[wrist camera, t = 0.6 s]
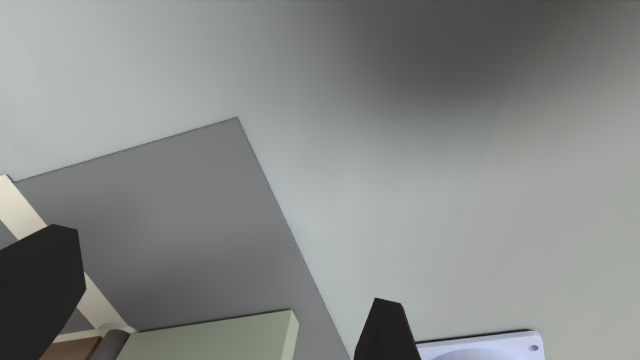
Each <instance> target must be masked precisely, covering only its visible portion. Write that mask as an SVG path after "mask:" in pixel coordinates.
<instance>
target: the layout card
mask: <svg viewBox="0 0 640 360" xmlns="http://www.w3.org/2000/svg"><path fill="white" fill-rule="evenodd" d="M51 224H56V225H61V226H65V227H69V228H74V229H78V235H79V242H80V249H81V255H82V262H83V269H84V275H85V282H86V289H87V290H86V291H85V293H84V295H83V296H82V298H81V300H80V302H79V303H78V305H77V307H76V308H75V310H74V312H73V313H72V315H71V317H70V318H69V320H68V321H67V323H66V325H65V326H64V328H63V329H62V331H61V332H60V333H59V335H58V336H57V337H56V338H55V340H54V341H53V342H52V343H56V342H63V341H69V340H76V339H82V338H89V337H95V336H101V337H102V338H104V336H105V335H106V333H107V332H108V331H109V330H111V329H120V330H124V331H126V332H128V333H130V334H135V333H142V332H148V331H155V330H162V329H168V328H175V327H181V326H188V325H195V324H201V323H208V322H215V321H221V320H228V319H234V318H241V317H248V316H254V315H261V314H268V313H274V312H281V311H287V310H292V311H293V313H294V315H295V317H296V319H297V321H298V323H299V328H298V333H297V338H296V344H295V349H294V354H293V359H292V360H350V357H349V355H348V353H347V351H346V349H345V347H344V345H343V342H342V340H341V338H340V336H339V334H338V332H337V330H336V327H335V325H334V323H333V321H332V319H331V317H330V315H329V312H328V310H327V308H326V306H325V304H324V302H323V299H322V297H321V295H320V293H319V291H318V289H317V287H316V284H315V282H314V280H313V278H312V276H311V274H310V272H309V269H308V267H307V265H306V263H305V261H304V259H303V257H302V254H301V252H300V250H299V248H298V246H297V244H296V242H295V239H294V237H293V235H292V233H291V231H290V229H289V227H288V224H287V222H286V220H285V218H284V216H283V214H282V211H281V209H280V207H279V205H278V203H277V201H276V199H275V196H274V194H273V192H272V190H271V188H270V186H269V184H268V181H267V179H266V177H265V175H264V173H263V171H262V169H261V166H260V164H259V162H258V160H257V158H256V156H255V154H254V151H253V149H252V147H251V145H250V143H249V141H248V139H247V136H246V134H245V132H244V130H243V128H242V126H241V123H240V121H239V119H238V117H235V118H232V119H228V120H225V121H221V122H218V123H214V124H211V125H208V126H204V127H201V128H197V129H194V130H190V131H187V132H184V133H180V134H177V135H173V136H170V137H166V138H163V139H160V140H156V141H153V142H149V143H146V144H142V145H139V146H136V147H132V148H129V149H125V150H122V151H119V152H115V153H112V154H108V155H105V156H101V157H98V158H95V159H91V160H88V161H84V162H81V163H77V164H74V165H71V166H67V167H64V168H60V169H57V170H53V171H50V172H47V173H43V174H40V175H36V176H33V177H30V178H26V179H23V180H19V181H16V182H11V181H10V179H9V178H8V177H7V176H6V174H5V175H2V176H0V250H1V249H3V248H5V247H7V246H9V245H11V244H13V243H15V242H17V241H19V240H21V239H23V238H25V237H26V236H28V235H30V234H32V233H34V232H36V231H38V230H40V229H42V228H45V227H47V226H49V225H51Z"/></svg>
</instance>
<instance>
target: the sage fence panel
mask: <svg viewBox="0 0 640 360" xmlns="http://www.w3.org/2000/svg"><path fill="white" fill-rule="evenodd" d="M298 328H299V323H298V321H297V319H296V317H295V315H294V313H293V311H292V310H287V311H281V312H274V313H268V314H261V315H254V316H248V317H241V318H234V319H228V320H221V321H215V322H208V323H201V324H195V325H188V326H181V327H175V328H168V329H162V330H155V331H148V332H142V333H135V334H131V335H130V337H129V338H128V340H127V342H126V343H125V345H124V347H123V349H122V350H121V352H120V354H119V355H118V357H117V359H116V360H292V359H293V354H294V349H295V344H296V338H297V333H298Z"/></svg>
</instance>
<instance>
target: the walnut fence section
mask: <svg viewBox="0 0 640 360" xmlns="http://www.w3.org/2000/svg"><path fill="white" fill-rule="evenodd" d="M130 335H131V334H130V333H128V332H126V331H124V330H120V329H111V330H109V331H108V332H107V333H106V335H105V336H104V338H102V337H101V336H95V337H89V338H82V339H76V340H69V341H63V342H56V343H52V344H51V345H50V346H49V348H48V349H47V350H46V351H45V353H44V354H43V355H42V357H41V358H40V359H39V360H116V359H117V357H118V355H119V354H120V352H121V350H122V349H123V347H124V345H125V343H126V342H127V340H128V338H129V337H130Z"/></svg>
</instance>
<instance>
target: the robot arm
mask: <svg viewBox="0 0 640 360" xmlns="http://www.w3.org/2000/svg"><path fill="white" fill-rule="evenodd" d="M86 290H87V289H86V282H85V275H84V269H83V262H82V255H81V249H80V242H79V235H78V229H74V228H69V227H65V226H61V225H56V224H51V225H49V226H47V227H45V228H42V229H40V230H38V231H36V232H34V233H32V234H30V235H28V236H26V237H25V238H23V239H21V240H19V241H17V242H15V243H13V244H11V245H9V246H7V247H5V248H3V249H1V250H0V360H39V359H40V358H41V357H42V355H43V354H44V353H45V351H46V350H47V349H48V348H49V346H50V345H51V344H52V342H53V341H54V340H55V338H56V337H57V336H58V335H59V333H60V332H61V331H62V329H63V328H64V326H65V325H66V323H67V321H68V320H69V318H70V317H71V315H72V313H73V312H74V310H75V308H76V307H77V305H78V303H79V302H80V300H81V298H82V296H83V295H84V293H85V291H86ZM354 360H545V359H544V351H543V343H542V339H541V336H540V334H539V333H538V332H535V331H524V332H515V333H507V334H498V335H490V336H481V337H473V338H464V339H456V340H447V341H439V342H430V343H422V344H415V341H414V338H413V335H412V332H411V330H410V327H409V324H408V321H407V318H406V315H405V311H404V308H403V306H402V305H401V303H397V302H392V301H388V300H384V299H379V298H375V299H374V302H373V305H372V307H371V310H370V312H369V315H368V318H367V320H366V323H365V325H364V328H363V331H362V333H361V336H360V339H359V341H358V344H357V346H356V349H355V354H354Z"/></svg>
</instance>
